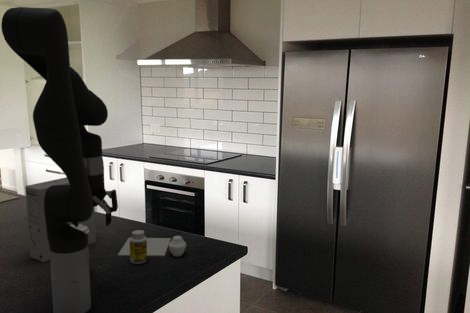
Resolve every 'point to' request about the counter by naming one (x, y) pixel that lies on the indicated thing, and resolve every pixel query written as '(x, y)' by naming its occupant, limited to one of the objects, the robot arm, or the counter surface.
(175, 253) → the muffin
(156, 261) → the counter surface
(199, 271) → the counter surface
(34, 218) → the cereal box
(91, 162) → the robot arm
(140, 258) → the supplement bottle
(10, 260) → the counter surface
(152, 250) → the topple mat
